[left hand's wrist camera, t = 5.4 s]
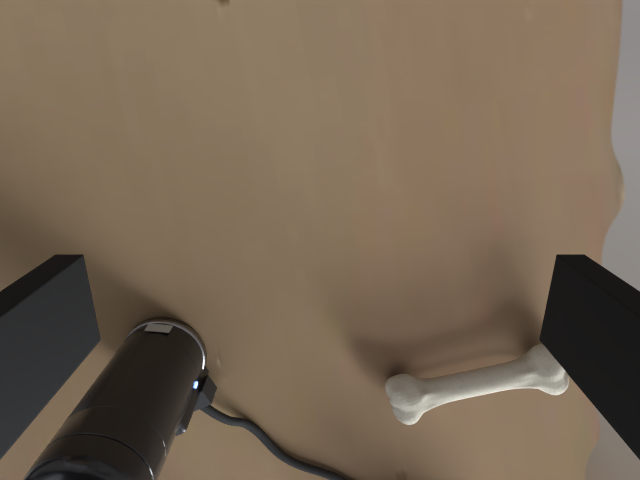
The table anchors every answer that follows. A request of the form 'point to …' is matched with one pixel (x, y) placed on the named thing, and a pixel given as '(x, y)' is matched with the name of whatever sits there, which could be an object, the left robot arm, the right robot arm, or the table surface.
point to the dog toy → (475, 383)
